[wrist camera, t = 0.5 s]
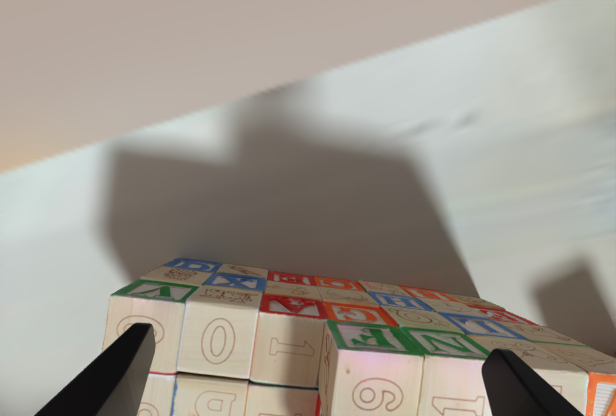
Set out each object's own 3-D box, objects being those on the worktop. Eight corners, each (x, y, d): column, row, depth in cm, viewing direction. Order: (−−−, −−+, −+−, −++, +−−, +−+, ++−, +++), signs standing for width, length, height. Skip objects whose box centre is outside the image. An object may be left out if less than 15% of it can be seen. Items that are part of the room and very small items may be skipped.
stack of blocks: (163, 348, 23) (31, 506, 11) (177, 255, 23) (60, 310, 11) (470, 383, 25) (651, 555, 13) (482, 295, 25) (675, 382, 13)
